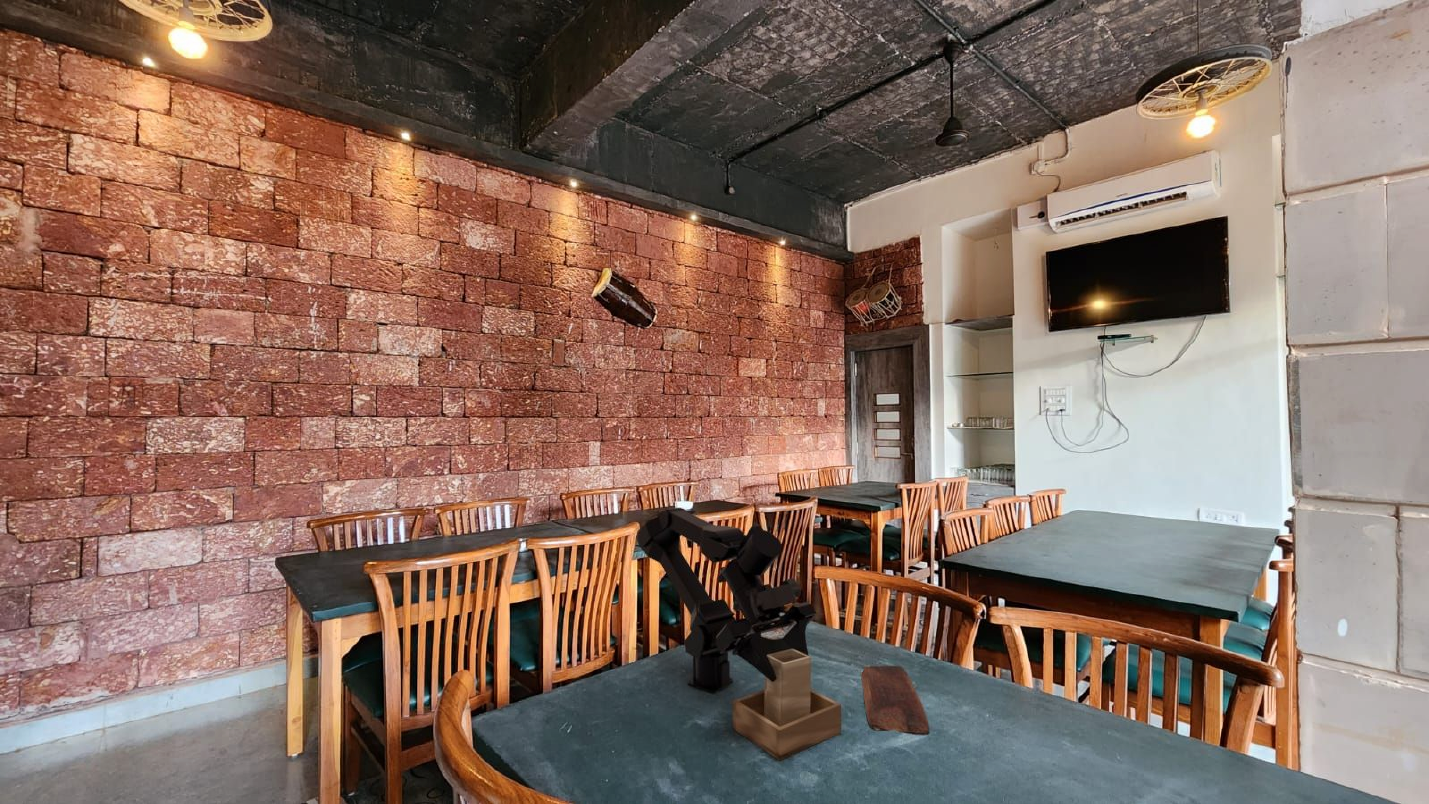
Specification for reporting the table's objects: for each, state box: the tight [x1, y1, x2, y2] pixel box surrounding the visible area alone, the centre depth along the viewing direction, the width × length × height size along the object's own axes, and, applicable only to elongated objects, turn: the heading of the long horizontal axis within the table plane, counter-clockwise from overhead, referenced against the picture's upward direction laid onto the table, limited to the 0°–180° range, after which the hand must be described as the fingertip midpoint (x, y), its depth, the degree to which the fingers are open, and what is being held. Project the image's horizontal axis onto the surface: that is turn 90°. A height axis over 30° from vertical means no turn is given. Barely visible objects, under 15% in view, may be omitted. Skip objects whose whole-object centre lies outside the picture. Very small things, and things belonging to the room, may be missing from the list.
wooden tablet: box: [860, 665, 930, 736], centre depth 108 cm, size 26×2×10 cm
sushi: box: [761, 623, 789, 655], centre depth 123 cm, size 8×8×8 cm
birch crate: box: [764, 649, 812, 727], centre depth 97 cm, size 4×6×11 cm
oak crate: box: [732, 689, 842, 762], centre depth 96 cm, size 11×13×4 cm
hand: (792, 674), depth 95 cm, fingers open, 7 cm apart
